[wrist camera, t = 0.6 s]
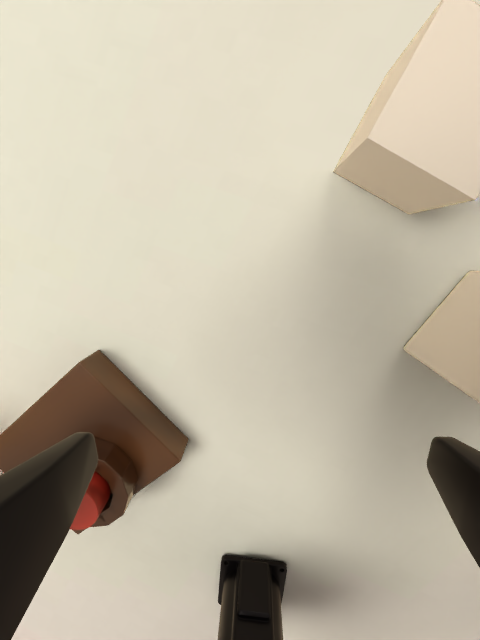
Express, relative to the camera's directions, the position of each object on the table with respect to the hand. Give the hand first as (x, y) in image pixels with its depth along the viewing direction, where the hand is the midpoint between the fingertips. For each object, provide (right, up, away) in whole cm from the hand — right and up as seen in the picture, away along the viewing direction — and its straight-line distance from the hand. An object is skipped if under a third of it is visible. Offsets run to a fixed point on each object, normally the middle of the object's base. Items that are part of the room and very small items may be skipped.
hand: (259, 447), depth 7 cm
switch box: (-14, -7, +18) cm, 23 cm away
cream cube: (+10, +15, +11) cm, 21 cm away
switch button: (-13, -10, +14) cm, 21 cm away
